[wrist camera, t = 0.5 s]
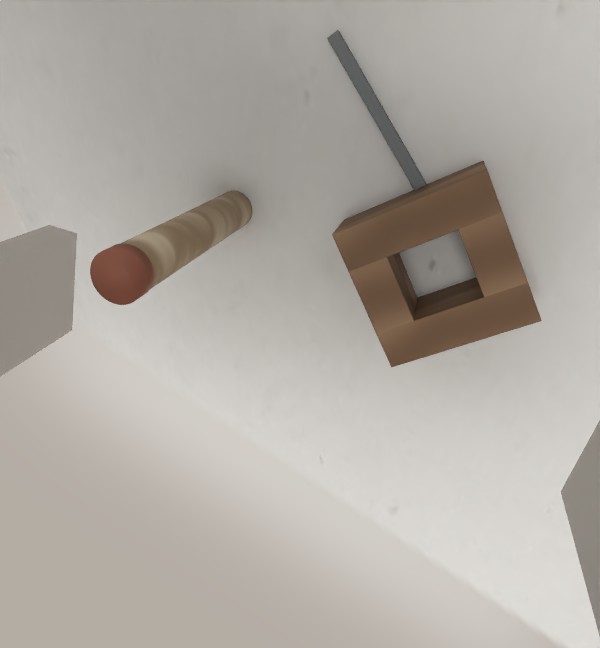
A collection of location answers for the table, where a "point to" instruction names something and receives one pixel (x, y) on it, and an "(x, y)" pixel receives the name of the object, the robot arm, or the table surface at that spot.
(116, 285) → the wooden dowel rod
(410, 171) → the gray square bar
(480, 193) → the wooden block with hole
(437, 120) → the table surface
